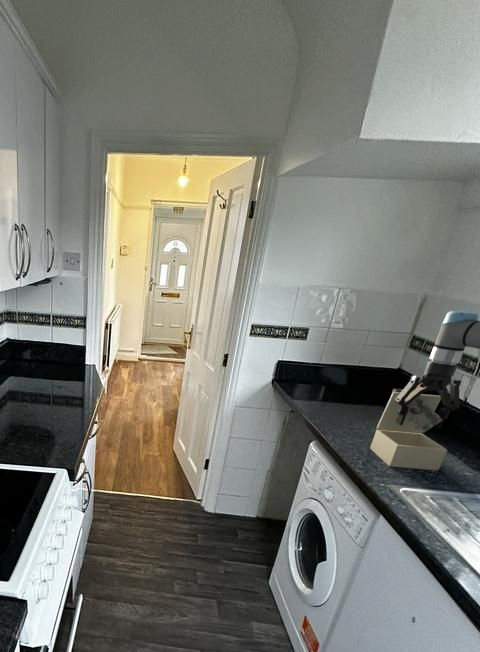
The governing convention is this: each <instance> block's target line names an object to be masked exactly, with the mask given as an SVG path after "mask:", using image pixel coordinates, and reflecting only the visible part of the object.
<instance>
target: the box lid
mask: <svg viewBox="0 0 480 652" xmlns="http://www.w3.org/2000/svg"><path fill="white" fill-rule="evenodd" d="M403 389H404V388H403ZM403 389H402V388H393V389H392V391H391V395H390V396H389V397H390V398H389V400H388V401H387V403H386V406H385V408H384V411H383V412H382V415H381V417H380V419H379V421H378V424H377V426H376V430H387V431H398V432H410V433H422V434H424V432H423V431H421V430H415V429H414V428H415V423H413V422H408V418H409V416H408V415H407V414H406V417H405V420H404V422H403V425H399V424H397V423H396V419H397V417H398V414H397V411H398V408H399V404H398V403H396V402H395V401H394V400H395V399H396V397H397V396H398V395H399V394H400V393H401V391H402V390H403ZM414 390H415V389H414ZM414 390H413V391H414ZM419 397H420V398H421V399H422V400H423V401H424V402H426V403H427V404H428V405H429V406H430V408H431V409H433V411H434V412H435V411H436V410H437V407H438V406H439V404H440V402H441V401H442V400H441V397H440V395H438V394H437V395H436V394H434V395H433V394H424V393H422V394H421V395H420V396H419ZM417 398H418V397H417Z"/></svg>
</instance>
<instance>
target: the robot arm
mask: <svg viewBox="0 0 480 652" xmlns="http://www.w3.org/2000/svg"><path fill="white" fill-rule="evenodd" d="M478 319H479V314H478V313H476V312H472V311H465V310H450V311H448V312H447V313H446V314H445V317H444V319H443V321H442V323H441V325H440V329H439V332H438V335H437V337H436V340H435V343H434V345H433V347H432V350H431V352H430V356H429V359H430V360H428V361H427V362H426V365H425V368H424V373H423V375H422V376H418V375H415V374H413V375H411V377H410V379H409V382H408V383H407V384H406V386H404V388H403V390H402V391H401V393H400V394H399V395H398V396H397V397H396V399H395V400H394V401H395V402H396V403H398V404H399V408H398V411H397V414H398V417H397V419H396V423H397V424H399V425H403V422H404V420H405V417H406V414H407V412H408V409H409V407H408V406H407V405H409V404H410V403H411V402H412V401H414V400H415V399H416V398H417V397H419V396H420V395H421V394H424V393H427V391H429V392H434V391H435V392H438V394H439V395H438V396H440V397H441V400H440V401H441V403H442V406H443V407H440V408H439V411H438V413H437V414H438V415H439V416H440V417H441V419H442V421H441V422H439V423H438V424H436V425H435V426H434V428H437V429H439V430H441V429H442V427H443V424H444V422H445V420H447V419H448V418H449V415H450V413H451V412H453V411H455V410H458V409H460V386H461V384H462V380H461V379H459V378H456V377H454V378H453V376H454V375H455V373H456V370H457V368H458V365H457V364H459V363H460V362H461V358H462V356H463V355H464V351H465V349H466V347H467V348H472V349H478V350H480V320H478ZM449 385H450V386H449ZM447 386H449V390H448V387H447ZM413 390H414V391H413Z"/></svg>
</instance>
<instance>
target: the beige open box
mask: <svg viewBox="0 0 480 652" xmlns="http://www.w3.org/2000/svg"><path fill="white" fill-rule="evenodd" d="M369 449H370V450H371V451H372V452H373V453H374V454H375V455H376V456H378V457H379V459H381V460H382V461H383V462H384V463H385V464H386V465H387V466H388V467H394V468H404V469H414V470H415V469H416V470H427V471H439V470H440V468H441V466H442V463H443V461H444V459H445V456H446V454H447V452H448V449H447V448H445V447H444V446H442V445H441V444H439V443H438V442H436V441H434V440H433V439H431V438H430V437H428V436H427V435H425V434H424V433H420V432H408V431H396V430H385V429H375V433H374V436H373V439H372V441H371V444H370V446H369Z"/></svg>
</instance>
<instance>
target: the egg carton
mask: <svg viewBox="0 0 480 652" xmlns="http://www.w3.org/2000/svg"><path fill="white" fill-rule="evenodd" d="M407 406H408V407H409V409H408V412H407V415H408V416H409V418H408V422H413V423H415V428H414V429H415V430H421V431H423V433H426V432H427V431H429V430H431V429H432V428H433V427H435V425H436V424H438V423H439V422H441V421H442V419H441V417H440V416H439V415H438V413H437V412H435V411H433V409H431V408H430V406H429V405H428V404H427V403H426V402H424V401H423V400H422V399H421V398H420V397H418V398H416V399H415V400H414V401H412V402H411V403H410V404H409V405H407Z"/></svg>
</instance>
